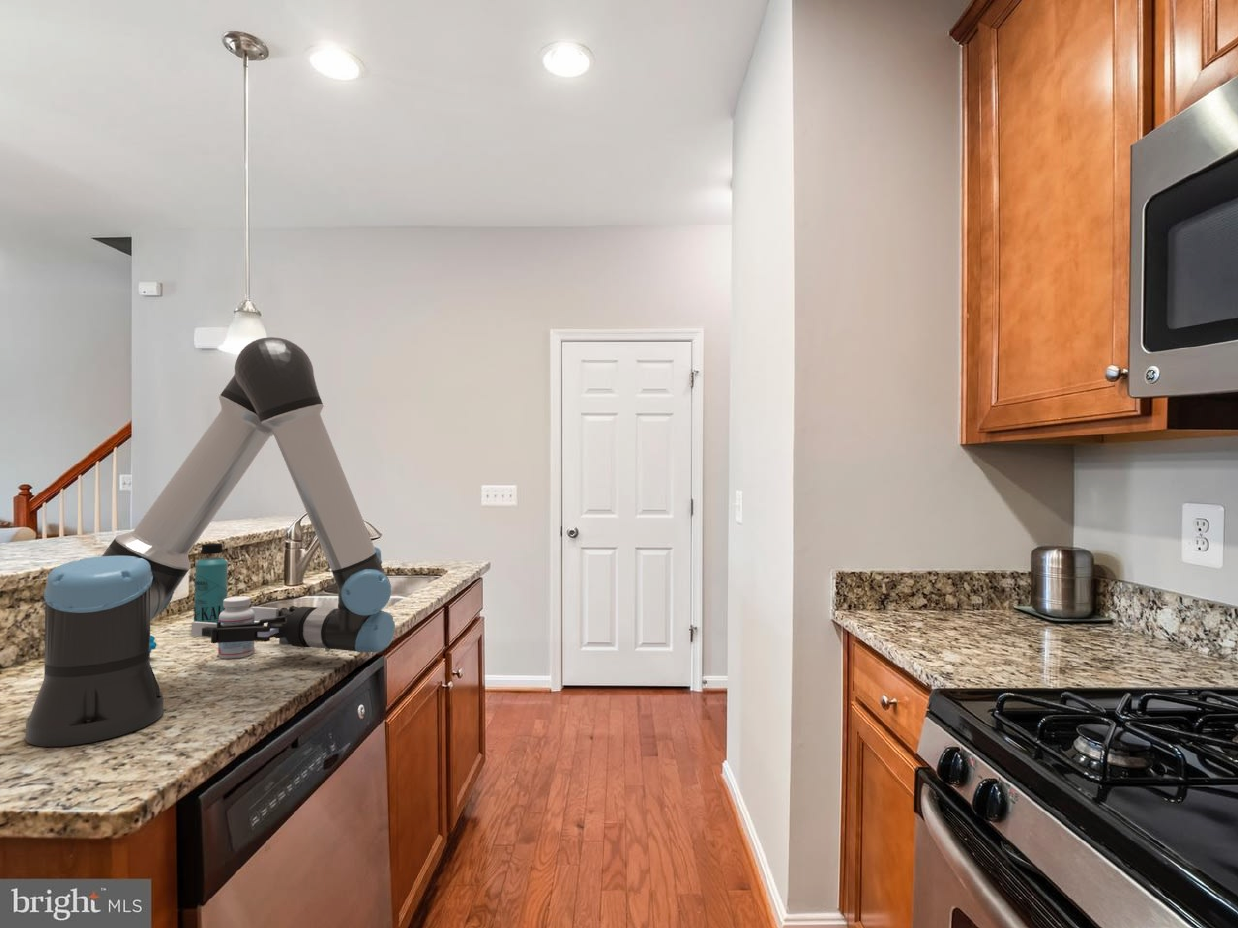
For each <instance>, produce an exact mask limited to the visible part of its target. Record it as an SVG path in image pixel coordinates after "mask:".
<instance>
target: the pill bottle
mask: <svg viewBox="0 0 1238 928" xmlns="http://www.w3.org/2000/svg"><path fill="white" fill-rule="evenodd" d="M251 603H252V601H251V597H250V596H231V597H227V598H226V599H224V600H223V606H224V608H225V610H224V611H222V612H221V613H220V615H219V622H221V623H222V624H224V625H233V624H244V623H255V621H254V611H253V610H252V609H251V608H250V607H251ZM217 644H218V645H217V651H218V652H217V655H218V657H219V658H221V659H225V660H229V659H230V660H231V659H241V658H245V656H246V657H248V656H250V655H252V654H253V653H254V652H255V641H244V642H224V643H217Z"/></svg>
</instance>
